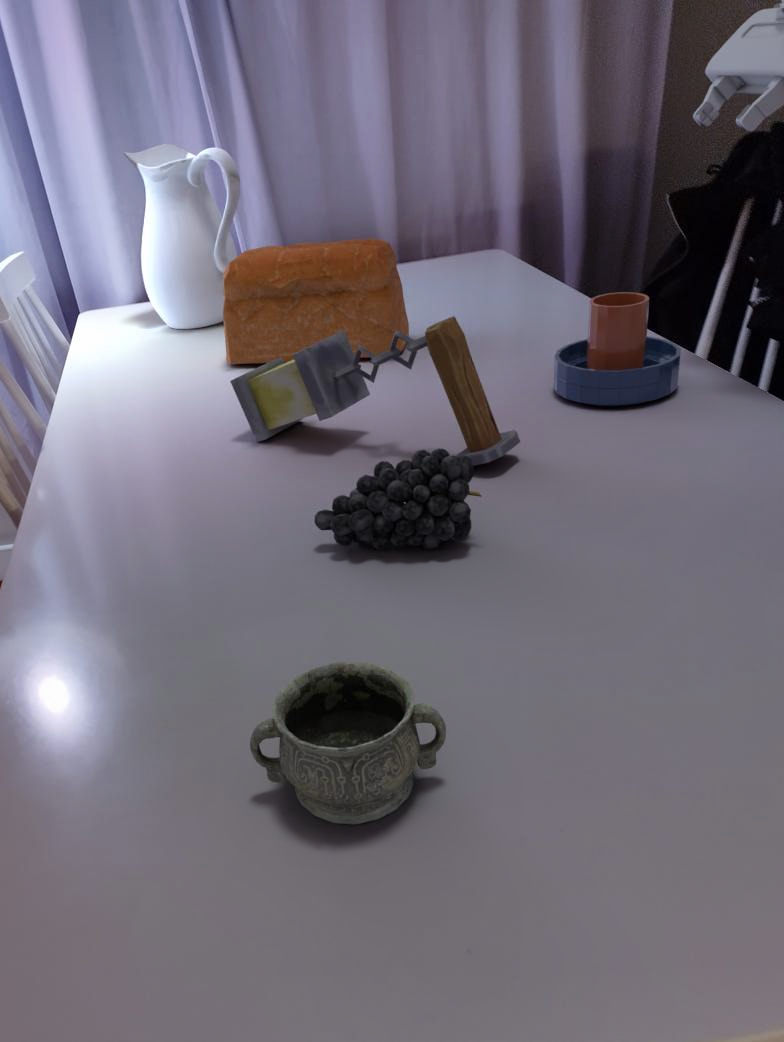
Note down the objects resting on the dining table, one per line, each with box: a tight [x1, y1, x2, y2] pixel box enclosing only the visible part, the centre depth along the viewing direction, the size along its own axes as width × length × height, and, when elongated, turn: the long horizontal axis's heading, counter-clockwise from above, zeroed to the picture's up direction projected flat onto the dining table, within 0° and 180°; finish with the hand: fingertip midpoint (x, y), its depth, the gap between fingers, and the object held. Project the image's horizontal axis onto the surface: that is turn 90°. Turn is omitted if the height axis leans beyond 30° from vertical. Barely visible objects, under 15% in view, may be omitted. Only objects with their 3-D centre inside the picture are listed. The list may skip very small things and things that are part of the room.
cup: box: [587, 291, 650, 370], centre depth 110 cm, size 6×6×10 cm
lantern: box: [229, 315, 521, 467], centre depth 104 cm, size 8×17×30 cm
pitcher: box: [123, 143, 241, 330], centre depth 158 cm, size 24×17×28 cm
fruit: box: [314, 448, 483, 551], centre depth 84 cm, size 9×8×15 cm
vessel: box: [249, 661, 447, 826], centre depth 57 cm, size 12×9×6 cm
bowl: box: [553, 335, 682, 407], centre depth 112 cm, size 14×14×4 cm
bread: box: [223, 238, 410, 366], centre depth 138 cm, size 14×27×15 cm, turn 77°
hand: (719, 124), depth 98 cm, fingers open, 8 cm apart
